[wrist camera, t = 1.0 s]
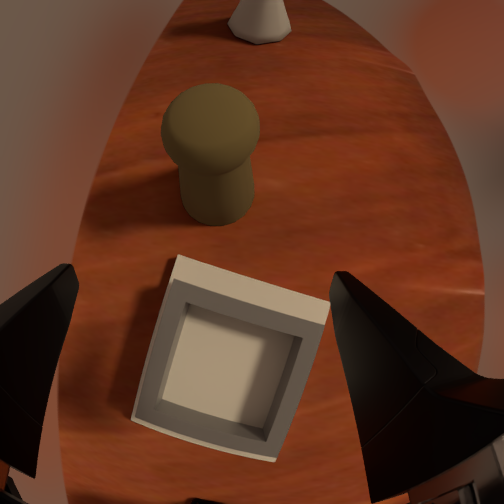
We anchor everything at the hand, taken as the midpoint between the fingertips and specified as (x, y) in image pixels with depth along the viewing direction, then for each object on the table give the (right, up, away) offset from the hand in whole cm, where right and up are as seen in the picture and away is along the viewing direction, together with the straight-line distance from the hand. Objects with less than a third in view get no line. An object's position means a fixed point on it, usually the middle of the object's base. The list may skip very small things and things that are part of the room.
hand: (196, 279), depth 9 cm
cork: (-1, +6, +14) cm, 16 cm away
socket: (0, -8, +12) cm, 14 cm away
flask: (+3, +27, +18) cm, 33 cm away
